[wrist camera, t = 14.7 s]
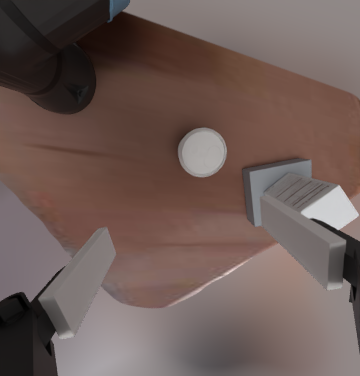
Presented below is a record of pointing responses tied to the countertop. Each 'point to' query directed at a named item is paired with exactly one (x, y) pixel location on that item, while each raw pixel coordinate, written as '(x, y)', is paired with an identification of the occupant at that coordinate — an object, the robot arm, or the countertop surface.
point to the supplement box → (314, 199)
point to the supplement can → (202, 152)
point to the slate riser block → (268, 182)
